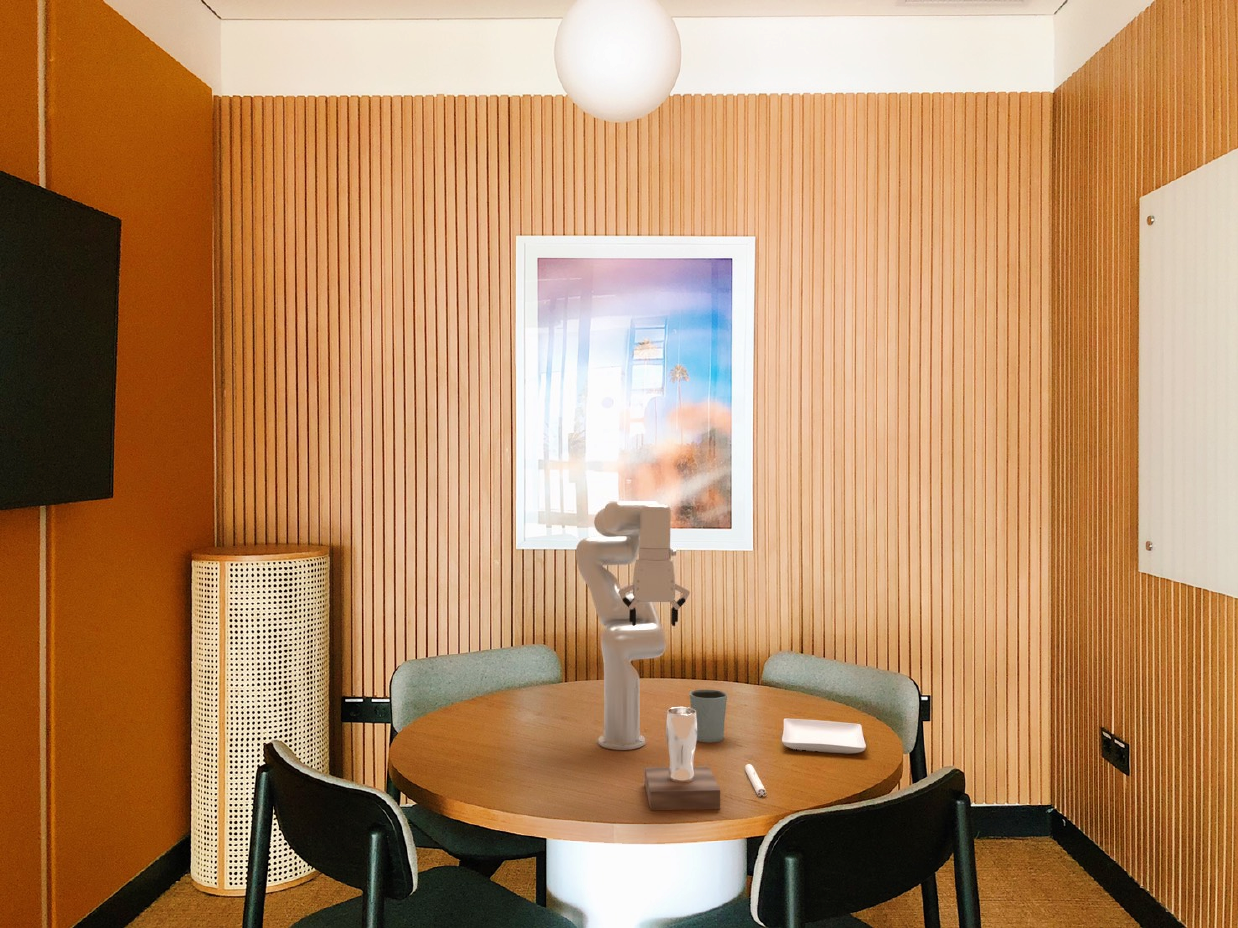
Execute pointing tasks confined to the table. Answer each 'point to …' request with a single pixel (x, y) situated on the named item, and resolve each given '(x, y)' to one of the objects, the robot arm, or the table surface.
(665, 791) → the walnut plinth
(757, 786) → the marker
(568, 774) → the table surface
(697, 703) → the grey green cup
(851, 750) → the salad plate
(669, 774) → the beer glass
